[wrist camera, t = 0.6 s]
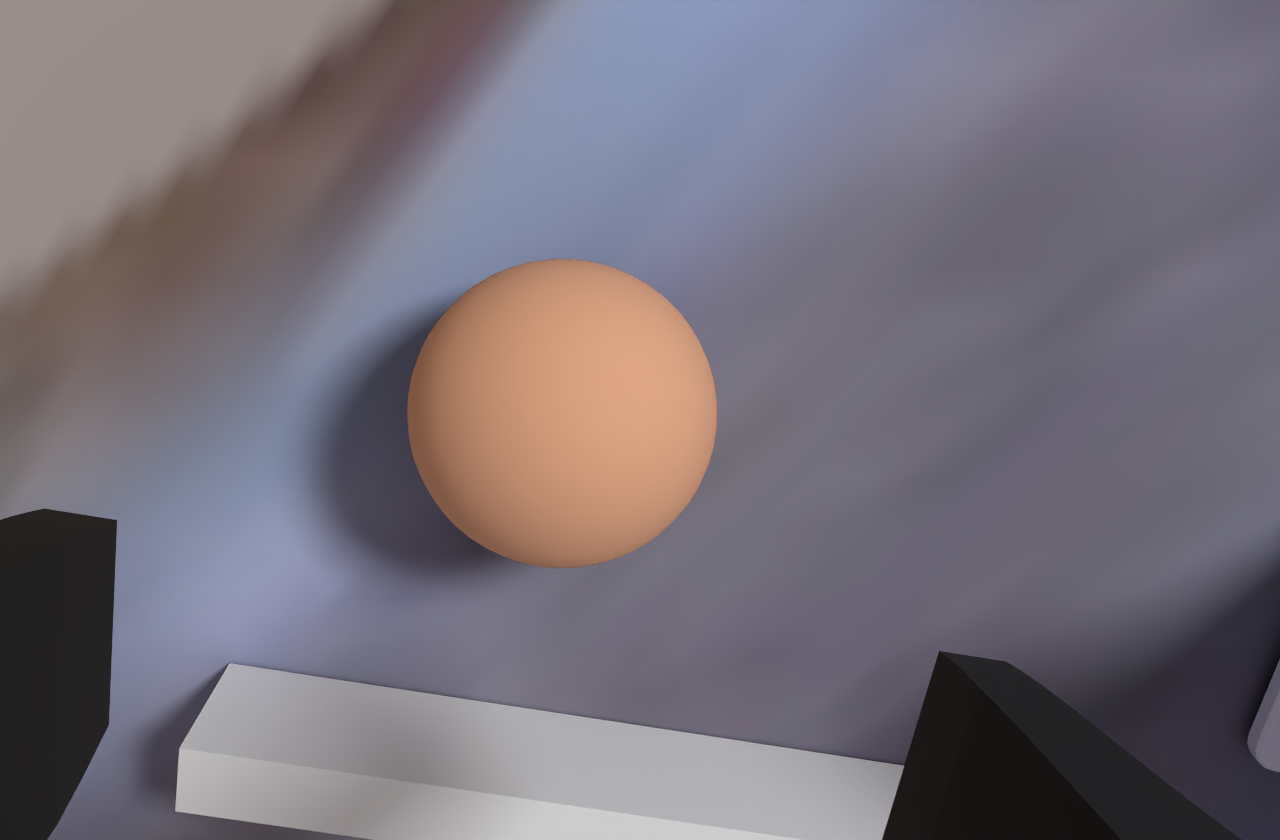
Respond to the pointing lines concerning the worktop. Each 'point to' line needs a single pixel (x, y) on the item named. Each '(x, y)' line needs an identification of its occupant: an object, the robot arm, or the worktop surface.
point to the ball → (562, 413)
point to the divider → (501, 771)
